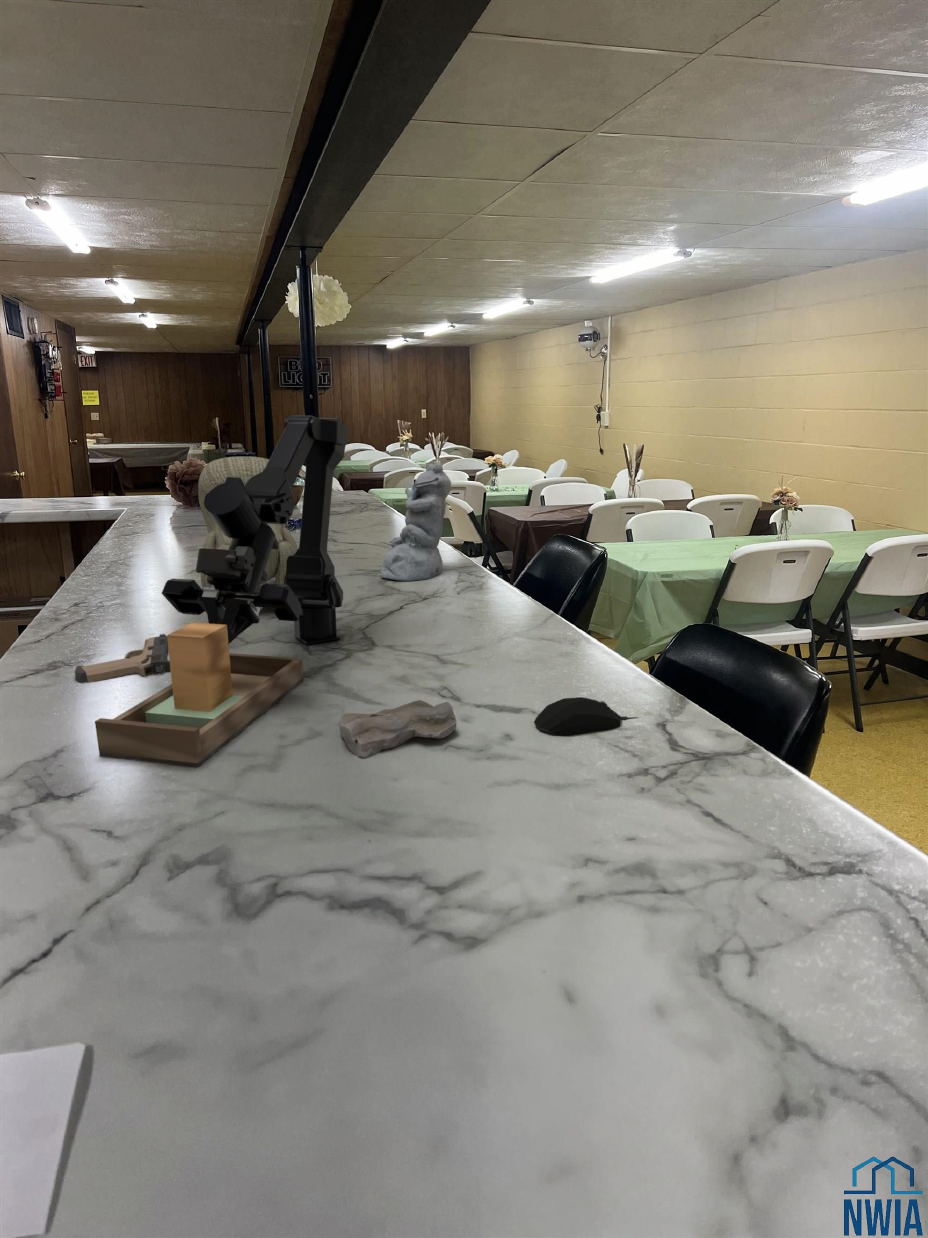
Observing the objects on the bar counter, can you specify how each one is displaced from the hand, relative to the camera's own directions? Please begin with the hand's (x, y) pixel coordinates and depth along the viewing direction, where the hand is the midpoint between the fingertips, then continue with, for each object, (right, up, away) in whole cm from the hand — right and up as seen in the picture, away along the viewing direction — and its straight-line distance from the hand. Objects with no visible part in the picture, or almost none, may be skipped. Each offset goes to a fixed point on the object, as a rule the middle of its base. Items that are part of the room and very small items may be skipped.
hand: (213, 653), depth 104 cm
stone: (+25, -11, -5) cm, 28 cm away
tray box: (0, -8, +2) cm, 8 cm away
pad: (-1, -9, -2) cm, 9 cm away
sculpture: (+22, +16, +88) cm, 92 cm away
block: (-1, -6, -2) cm, 7 cm away
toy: (-11, +8, +61) cm, 63 cm away
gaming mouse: (+50, -10, -1) cm, 51 cm away
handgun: (-21, -3, +23) cm, 32 cm away
